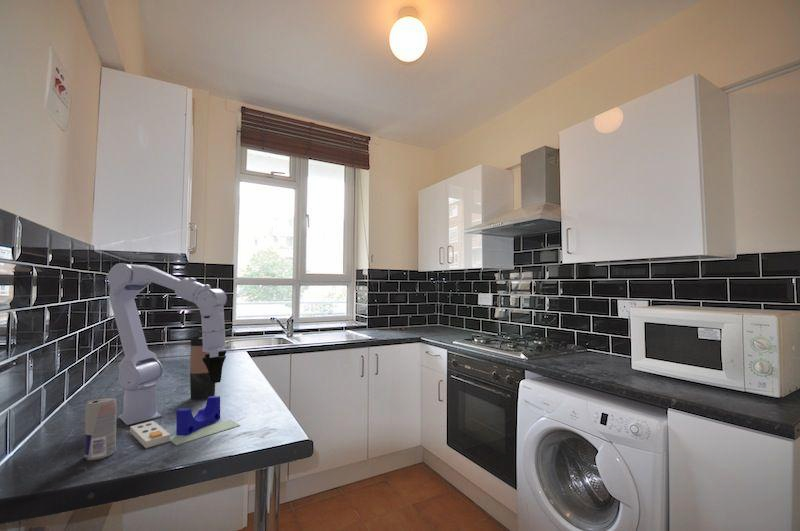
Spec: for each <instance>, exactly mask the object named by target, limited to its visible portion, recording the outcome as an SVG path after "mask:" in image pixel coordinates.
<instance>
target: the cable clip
mask: <svg viewBox="0 0 800 531" xmlns="http://www.w3.org/2000/svg"><path fill="white" fill-rule="evenodd" d="M220 419H221V396H218V395H217V396H216V395H214V396H210V397H208V398H207V399H206V403H205V407H203V408H201V409H198V411H197V413H196V414H195V415H194V416H193V411H192V408H185V407H184V408H181V407H180V408H179V409H176V418H175V420H176V422H175V424H176V429H175V430H176V431H175V432H176V433H175V436H176V435H186V436H187V435H189V434H191V433H193V432H195V431H197V430H198V429H200V428H203V427H206V426H209V425H210V424H212V423H214V422H216V421H218V420H220Z"/></svg>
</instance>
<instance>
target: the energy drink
mask: <svg viewBox="0 0 800 531" xmlns="http://www.w3.org/2000/svg"><path fill="white" fill-rule="evenodd" d="M117 402H118V401H117V399H116V396H103V397H98V398H94V399H91V400H89V401H87V402H86V405H85V417H84V418H85V420H84V425H85V426H84V452H83V453H84V456H83V457H84V459H85V460H86V461H97V460H98V461H99V460H102V459H106V458H108V457H110V456H112V455H113V454H114V453H115V452H116V450H117V449H116V448H117V411H118V409H117V408H118V407H117V406H118V404H117Z"/></svg>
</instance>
